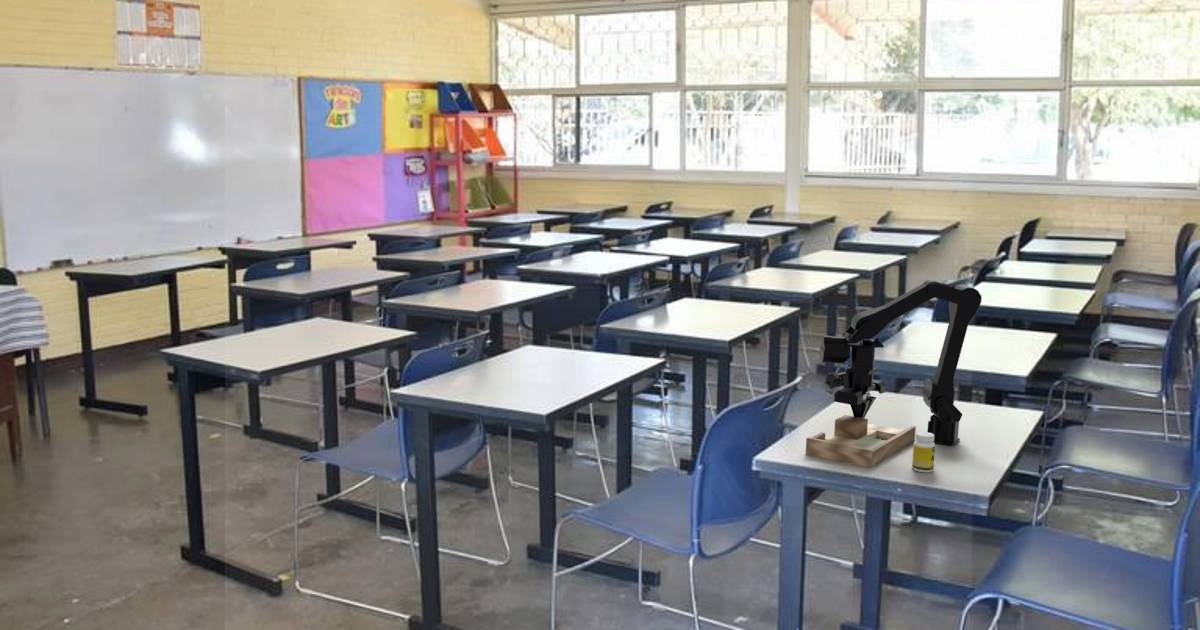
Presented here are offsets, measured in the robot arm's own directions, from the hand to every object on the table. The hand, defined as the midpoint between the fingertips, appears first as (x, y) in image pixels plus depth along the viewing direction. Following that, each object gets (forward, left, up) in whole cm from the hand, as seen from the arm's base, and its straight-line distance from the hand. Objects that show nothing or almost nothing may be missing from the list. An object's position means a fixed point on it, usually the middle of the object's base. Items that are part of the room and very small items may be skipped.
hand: (858, 424), depth 260 cm
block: (0, +5, -2) cm, 5 cm away
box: (-4, +5, -4) cm, 7 cm away
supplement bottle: (-22, +14, -4) cm, 26 cm away
